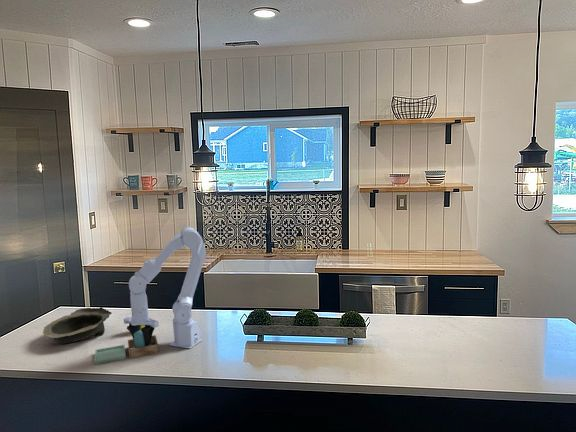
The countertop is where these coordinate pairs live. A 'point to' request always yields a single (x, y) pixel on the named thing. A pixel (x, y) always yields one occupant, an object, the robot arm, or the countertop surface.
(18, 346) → the countertop surface
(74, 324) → the stone bowl
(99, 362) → the tray
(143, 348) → the sleeve
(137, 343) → the block
